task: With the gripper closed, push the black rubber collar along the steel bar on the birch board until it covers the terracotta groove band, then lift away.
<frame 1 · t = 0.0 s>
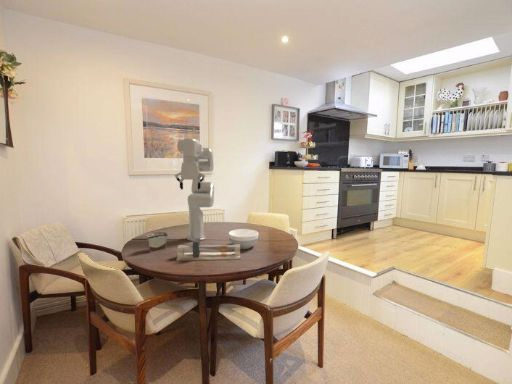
hand: (190, 189, 146), 37 cm above the table, tool pointing down, fingers open, 9 cm apart
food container: (155, 250, 149), on the table
pipe rig: (209, 256, 139), on the table
collar: (196, 247, 138), point 5 cm above the table, slide at 0.0 cm
bowl: (243, 246, 159), on the table
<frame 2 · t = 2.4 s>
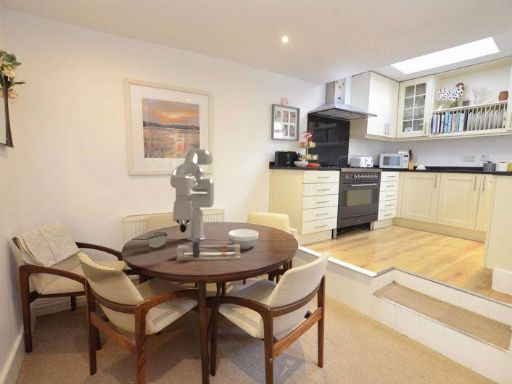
hand: (183, 231, 135), 15 cm above the table, tool pointing down, fingers closed
nothing on the table moved.
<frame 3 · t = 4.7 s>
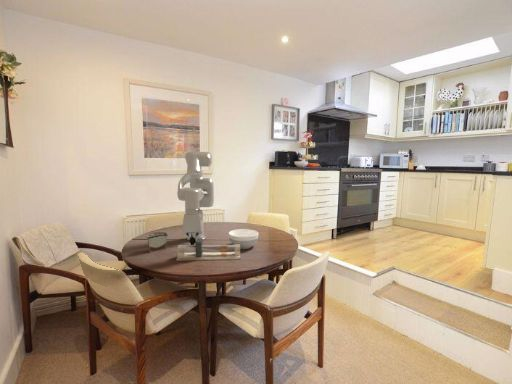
hand: (192, 244, 137), 7 cm above the table, tool pointing down, fingers closed
collar: (199, 247, 138), point 5 cm above the table, slide at 1.4 cm, touching gripper
everything else where it was.
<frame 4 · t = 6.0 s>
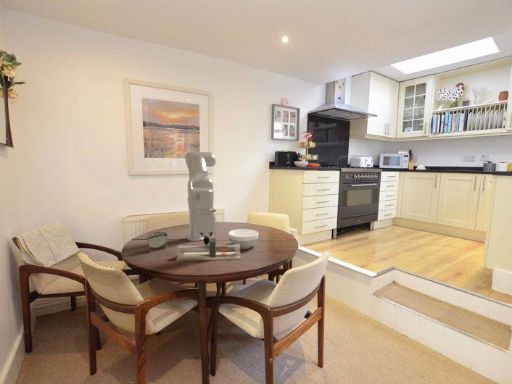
hand: (206, 244, 138), 7 cm above the table, tool pointing down, fingers closed
collar: (212, 247, 139), point 5 cm above the table, slide at 8.9 cm, touching gripper
everything else where it was.
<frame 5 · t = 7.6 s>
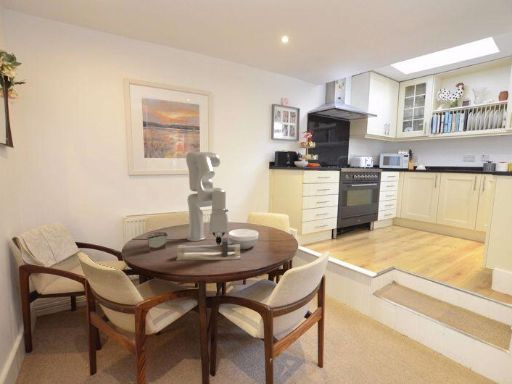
hand: (218, 243, 139), 7 cm above the table, tool pointing down, fingers closed
collar: (225, 247, 139), point 6 cm above the table, slide at 15.6 cm, touching gripper
everything else where it was.
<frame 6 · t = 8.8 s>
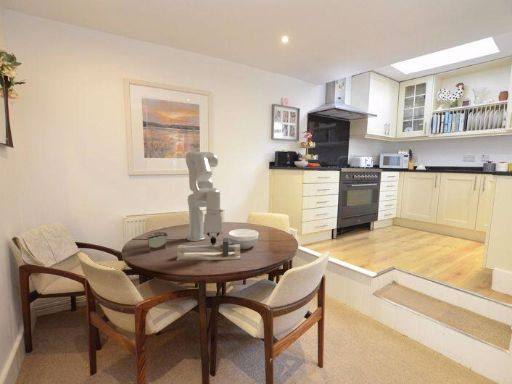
hand: (213, 244, 139), 7 cm above the table, tool pointing down, fingers closed
collar: (225, 247, 139), point 5 cm above the table, slide at 16.0 cm
everything else where it was.
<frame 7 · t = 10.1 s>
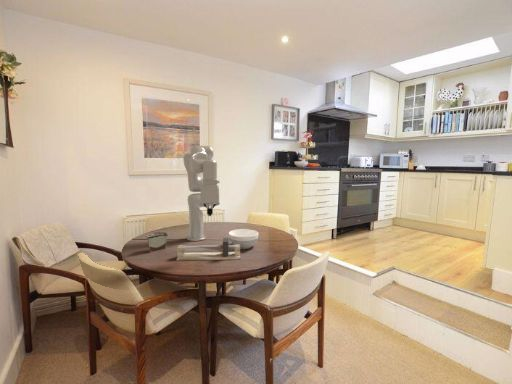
hand: (209, 215, 138), 23 cm above the table, tool pointing down, fingers closed
nothing on the table moved.
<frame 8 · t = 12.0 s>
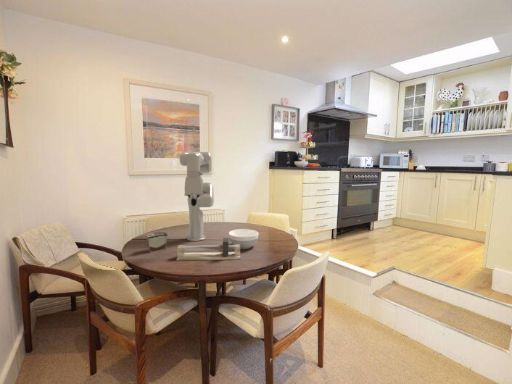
hand: (193, 205, 147), 27 cm above the table, tool pointing down, fingers closed
nothing on the table moved.
at the end: collar slide at 16.0 cm; the gripper is holding nothing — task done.
